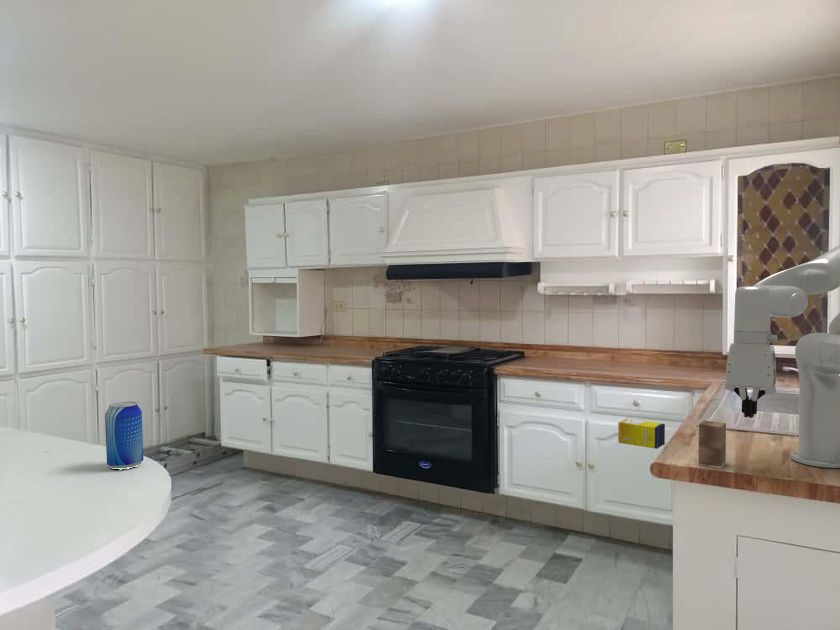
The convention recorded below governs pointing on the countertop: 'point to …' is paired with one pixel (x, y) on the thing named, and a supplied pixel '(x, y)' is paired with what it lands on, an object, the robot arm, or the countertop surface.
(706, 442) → the walnut block
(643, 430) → the supplement box
